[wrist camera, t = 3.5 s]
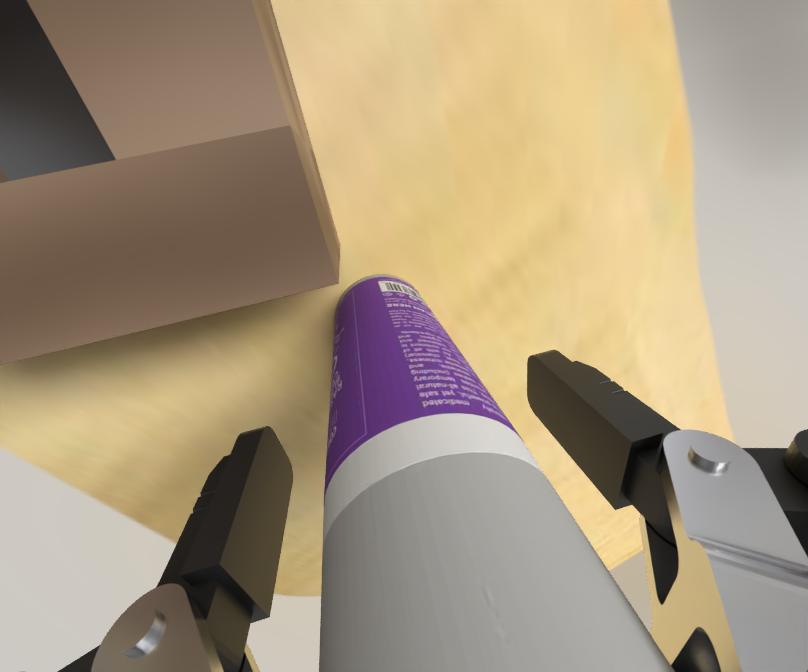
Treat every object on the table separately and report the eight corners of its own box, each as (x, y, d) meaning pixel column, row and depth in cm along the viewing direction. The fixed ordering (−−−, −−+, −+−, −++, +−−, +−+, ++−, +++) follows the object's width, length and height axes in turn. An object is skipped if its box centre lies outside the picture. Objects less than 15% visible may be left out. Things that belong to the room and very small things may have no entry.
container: (317, 299, 15) (71, 1396, 1) (404, 257, 14) (1062, 1028, 1) (360, 370, 17) (426, 1048, 4) (437, 334, 17) (794, 904, 3)
